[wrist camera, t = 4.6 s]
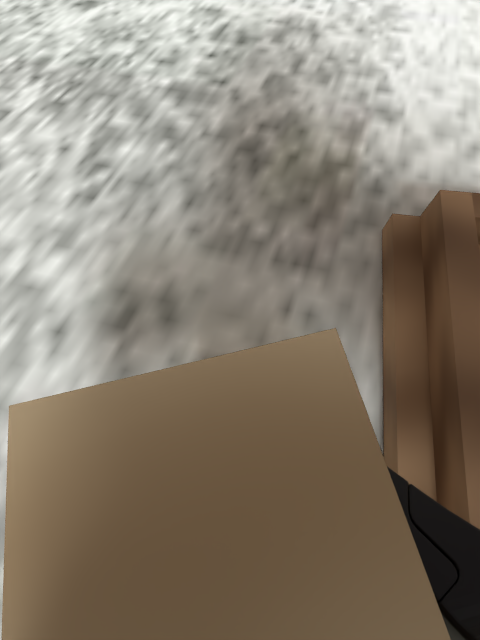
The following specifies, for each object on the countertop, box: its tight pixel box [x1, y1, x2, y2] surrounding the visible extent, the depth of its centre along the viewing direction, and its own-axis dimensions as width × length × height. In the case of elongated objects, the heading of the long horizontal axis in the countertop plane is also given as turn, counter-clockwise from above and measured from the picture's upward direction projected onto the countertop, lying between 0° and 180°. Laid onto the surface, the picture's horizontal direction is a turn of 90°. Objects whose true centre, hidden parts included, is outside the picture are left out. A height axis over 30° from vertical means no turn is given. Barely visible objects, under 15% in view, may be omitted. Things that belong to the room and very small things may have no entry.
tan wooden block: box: [2, 328, 451, 640], centre depth 9 cm, size 4×4×12 cm
